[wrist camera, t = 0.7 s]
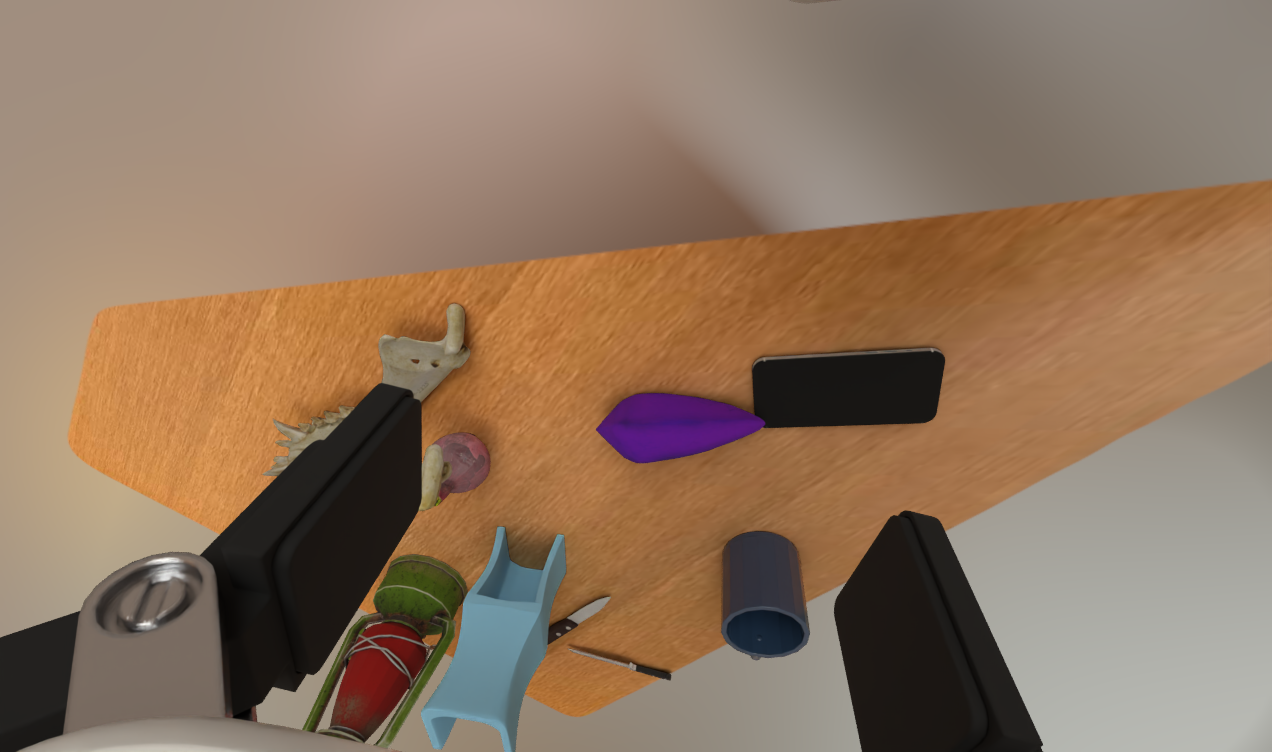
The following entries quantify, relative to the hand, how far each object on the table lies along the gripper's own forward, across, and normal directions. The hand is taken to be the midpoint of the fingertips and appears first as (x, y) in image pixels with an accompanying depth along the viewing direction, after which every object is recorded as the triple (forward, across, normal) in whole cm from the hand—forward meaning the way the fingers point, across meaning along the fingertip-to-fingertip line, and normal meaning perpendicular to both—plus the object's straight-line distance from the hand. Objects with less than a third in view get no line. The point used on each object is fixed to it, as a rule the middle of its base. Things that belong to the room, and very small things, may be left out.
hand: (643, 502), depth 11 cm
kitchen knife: (+34, +2, +58) cm, 68 cm away
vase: (+35, +7, +47) cm, 59 cm away
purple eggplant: (+34, -4, +21) cm, 40 cm away
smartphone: (+34, -17, +15) cm, 41 cm away
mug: (+34, -18, +40) cm, 55 cm away
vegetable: (+34, +15, +31) cm, 49 cm away
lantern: (+35, +20, +58) cm, 71 cm away
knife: (+34, -7, +64) cm, 72 cm away
